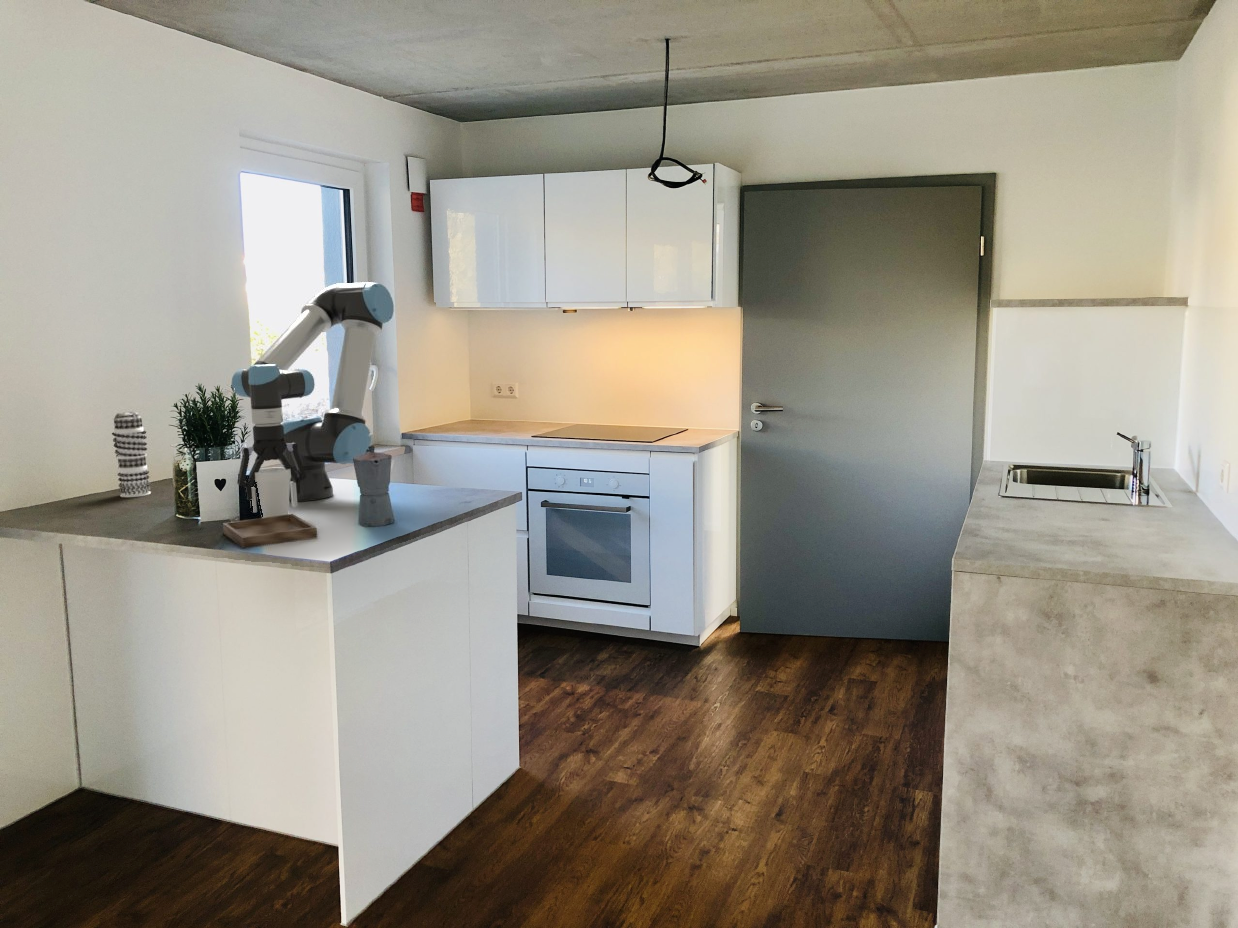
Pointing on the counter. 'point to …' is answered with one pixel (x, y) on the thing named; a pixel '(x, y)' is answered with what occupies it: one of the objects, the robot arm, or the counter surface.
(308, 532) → the walnut tray
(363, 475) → the moka pot
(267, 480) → the foam cup
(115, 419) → the decorative candle
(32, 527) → the counter surface
